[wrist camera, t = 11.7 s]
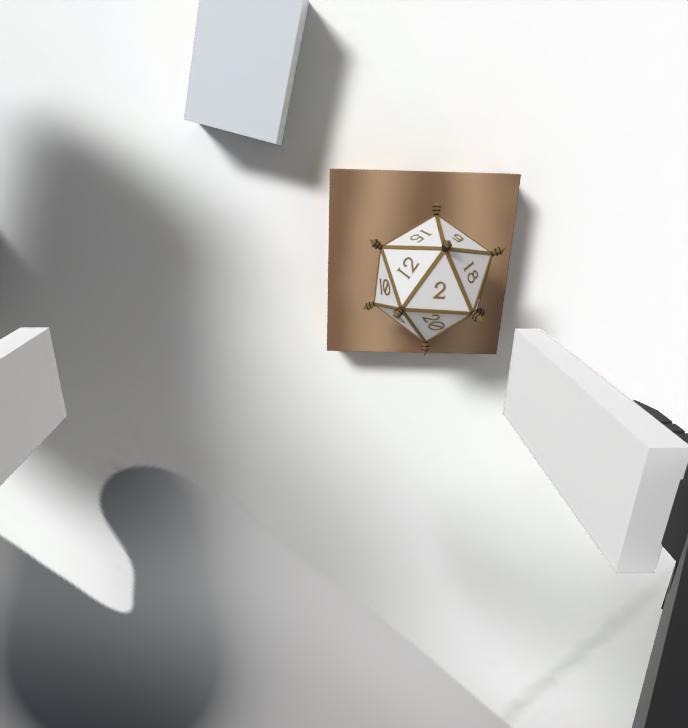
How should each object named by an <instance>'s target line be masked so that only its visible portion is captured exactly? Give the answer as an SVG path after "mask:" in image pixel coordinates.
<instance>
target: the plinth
mask: <svg viewBox="0 0 688 728" xmlns="http://www.w3.org/2000/svg"><path fill="white" fill-rule="evenodd" d="M520 178H521V174H503V173H467V172H431V171H395V170H359V169H330V196H329V260H328V323H327V350H328V351H374V352H421V353H423V352H422V350H421V349H422V345H423V341H422V340H420V339H419V338H418V337H416V336H415V335H414V334H412V333H411V332H410V331H408V330H407V329H405V328H404V327H403V326H401V325H400V324H399V323H397V322H396V321H395V320H393V319H392V318H391V317H389V316H388V315H387V314H385V313H384V312H383V311H381V310H380V309H379V308H377V307H376V306H374V307H373V309H370V310H366V309H363V307H364V306H365V304H366V303H369V301H370V302H373V301H374V294H375V286H376V277H377V268H378V259H379V251H380V250H379V249H375V247H372V244H371V242H370V240H375V239H378V241H380V242H381V244H382V245H383V244H385V243H387V242H388V241H390V240H392V239H393V238H395V237H397V236H399V235H400V234H402V233H404V232H405V231H407V230H409V229H411V228H412V227H414V226H416V225H417V224H419V223H421V222H422V221H424V220H426V219H428V218H429V217H431V216H433V214H434V213H433V211H432V210H433V207H432V206H434V204H435V203H436V202H437V200H438V202H439V204H440V206H441V208H440V210H441V211H440V212H439V216H441V217H442V218H443V219H445V220H446V221H448V222H449V223H451V224H452V225H453V226H455V227H456V228H458V229H459V230H461V231H462V232H463V233H465V234H466V235H468V236H469V237H471V238H472V239H473V240H475V241H476V242H478V243H479V244H481V245H482V246H483V247H485V248H486V249H488V250H489V251H493V250H494V248H495V249H496V248H498V246H499V247H505V250H504V251H503V253H502V255H501V254H500V255H498V256H493V257H492V261H491V264H490V268H489V271H488V275H487V278H486V282H485V286H484V289H483V293H482V296H481V300H480V303H479V307H478V308H482V309H484V311H485V315H486V316H482V320H483V322H482V321H479V322H475V321H474V319H472V317H471V316H470V317H469V318H467V319H465V320H464V321H462V322H461V323H459V324H457V325H456V326H454V327H452V328H451V329H449V330H447V331H446V332H444V333H442V334H441V335H439V336H437V337H436V338H434V339H432V340H431V341H429V342H428V345H429V346H430V347H429V350H428V352H427V353H467V354H496V352H497V345H498V337H499V330H500V323H501V316H502V308H503V301H504V294H505V287H506V279H507V272H508V265H509V258H510V250H511V243H512V236H513V229H514V221H515V214H516V207H517V200H518V192H519V185H520Z"/></svg>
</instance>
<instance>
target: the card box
mask: <svg viewBox="0 0 688 728" xmlns="http://www.w3.org/2000/svg"><path fill="white" fill-rule="evenodd" d="M308 6H309V0H199V7H198V15H197V23H196V31H195V38H194V46H193V54H192V62H191V70H190V77H189V85H188V93H187V101H186V109H185V116H184V120H188V121H192V122H195V123H199V124H203V125H206V126H210V127H214V128H218V129H221V130H225V131H229V132H233V133H236V134H240V135H244V136H247V137H251V138H255V139H259V140H262V141H266V142H270V143H274V144H277V145H281V146H282V141H283V136H284V131H285V126H286V121H287V115H288V110H289V105H290V100H291V94H292V89H293V84H294V79H295V74H296V68H297V63H298V58H299V53H300V47H301V42H302V37H303V32H304V27H305V21H306V16H307V11H308Z"/></svg>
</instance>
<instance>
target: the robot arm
mask: <svg viewBox="0 0 688 728" xmlns="http://www.w3.org/2000/svg"><path fill="white" fill-rule="evenodd" d="M503 415H504V416H505V417H506V419H507V420H508V422H509V423H510V424H511V426H512V427H513V429H514V430H515V432H516V433H517V434H518V436H519V437H520V439H521V440H522V441H523V443H524V444H525V446H526V447H527V449H528V450H529V451H530V453H531V454H532V456H533V457H534V458H535V460H536V461H537V463H538V464H539V466H540V467H541V468H542V470H543V471H544V473H545V474H546V475H547V477H548V478H549V480H550V481H551V482H552V484H553V485H554V487H555V488H556V490H557V491H558V492H559V494H560V495H561V497H562V498H563V499H564V501H565V502H566V504H567V505H568V507H569V508H570V509H571V511H572V512H573V514H574V515H575V516H576V518H577V519H578V521H579V522H580V524H581V525H582V526H583V528H584V529H585V531H586V532H587V533H588V535H589V536H590V538H591V539H592V541H593V542H594V543H595V545H596V546H597V548H598V549H599V550H600V552H601V553H602V555H603V556H604V557H605V559H606V560H607V562H608V563H609V565H610V566H611V567H612V569H613V570H614V572H615V573H655V569H656V566H657V563H658V559H659V556H660V553H661V550H662V546H663V547H664V548H665V549H666V550H667V552H668V553H669V554H670V555H671V556H672V557H673V558H674V560H675V561H676V564H675V567H674V570H673V573H672V576H671V580H670V583H669V586H668V589H667V592H666V595H665V598H664V601H663V605H662V608H661V609H663V611H662V614H661V618H660V622H659V626H658V630H657V634H656V637H655V641H654V645H653V649H652V653H651V657H650V660H649V664H648V668H647V672H646V676H645V680H644V684H643V687H642V691H641V695H640V699H639V703H638V707H637V710H636V714H635V718H634V722H633V726H632V728H688V433H686V434H685V431H684V430H683V429H681V428H680V427H679V426H677V425H676V424H672V421H671V420H669V419H668V418H667V417H665V416H664V415H663V414H661V413H660V412H659V411H658V410H656V409H653V408H651V407H649V406H647V405H645V404H642V403H640V402H638V401H636V400H631V399H630V398H629V397H627V396H626V395H625V394H624V393H622V392H621V391H620V390H619V389H617V388H616V387H615V386H613V385H612V384H611V383H610V382H608V381H607V380H606V379H605V378H603V377H602V376H601V375H600V374H598V373H597V372H596V371H594V370H593V369H592V368H591V367H589V366H588V365H587V364H586V363H584V362H583V361H582V360H581V359H579V358H578V357H577V356H575V355H574V354H573V353H572V352H570V351H569V350H568V349H567V348H565V347H564V346H563V345H561V344H560V343H559V342H558V341H556V340H555V339H554V338H553V337H551V336H550V335H549V334H548V333H546V332H545V331H544V330H542V329H515V334H514V341H513V348H512V355H511V362H510V368H509V375H508V382H507V389H506V396H505V403H504V410H503ZM66 417H67V414H66V409H65V404H64V399H63V394H62V389H61V384H60V379H59V374H58V369H57V364H56V359H55V354H54V349H53V344H52V339H51V334H50V329H49V327H21V328H19V329H17V330H15V331H14V332H12V333H10V334H9V335H7V336H5V337H3V338H2V339H0V486H1V485H2V484H3V483H4V481H5V480H6V479H7V478H8V477H9V476H10V475H11V474H12V473H13V472H14V471H15V470H16V469H17V468H18V467H19V466H20V465H21V464H22V463H23V462H24V461H25V460H26V459H27V457H28V456H29V455H30V454H31V453H32V452H33V451H34V450H35V449H36V448H37V447H38V446H39V445H40V444H41V443H42V442H43V441H44V440H45V439H46V438H47V437H48V436H49V434H50V433H51V432H52V431H53V430H54V429H55V428H56V427H57V426H58V425H59V424H60V423H61V422H62V421H63V420H64V419H65V418H66Z"/></svg>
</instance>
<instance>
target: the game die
mask: <svg viewBox="0 0 688 728" xmlns="http://www.w3.org/2000/svg"><path fill="white" fill-rule="evenodd" d="M432 207H433V210H432V211H433V213H434V214H433V216H431V217H429V218H428V219H426V220H424V221H422V222H421V223H419V224H417V225H416V226H414V227H412V228H411V229H409V230H407V231H405V232H404V233H402V234H400V235H399V236H397V237H395V238H393V239H392V240H390V241H388V242H387V243H385V244H383V245H382V244H381V242H380V241H378V239H375V240H370V242H371V244H372V247H375V249H379V250H380V251H379V259H378V268H377V277H376V286H375V294H374V301H373V302H370V301H369V303H366V304H365V306H364V307H363V309H366V310H370V309H373V307H374V306H376V307H377V308H379V309H380V310H381V311H383V312H384V313H385V314H387V315H388V316H389V317H391V318H392V319H393V320H395V321H396V322H397V323H399V324H400V325H401V326H403V327H404V328H405V329H407V330H408V331H410V332H411V333H412V334H414V335H415V336H416V337H418V338H419V339H420V340H422V341H423V345H422V349H421V350H422V352H423V354H424V355H425V354H426V353H427V352H428V350H429V347H430V346H429V345H428V342H429V341H431V340H432V339H434V338H436V337H437V336H439V335H441V334H442V333H444V332H446V331H447V330H449V329H451V328H452V327H454V326H456V325H457V324H459V323H461V322H462V321H464V320H465V319H467V318H469V317H470V316H471V317H472V319H474V321H475V322H479V321H482V322H483V320H482V316H486V315H485V311H484V309H482V308H478V307H479V303H480V300H481V296H482V293H483V289H484V286H485V282H486V278H487V275H488V271H489V268H490V264H491V261H492V257H493V256H498V255H500V254H501V255H502V253H503V251H504V250H505V247H499V246H498V248H496V249H495V248H494V250H493V251H489V250H488V249H486V248H485V247H483V246H482V245H481V244H479V243H478V242H476V241H475V240H473V239H472V238H471V237H469V236H468V235H466V234H465V233H463V232H462V231H461V230H459V229H458V228H456V227H455V226H453V225H452V224H451V223H449V222H448V221H446V220H445V219H443V218H442V217H441V216H439V212H440V211H441V210H440V208H441V206H440V204H439V202H438V200H437V202H436V203H435V204H434V206H432Z"/></svg>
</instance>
